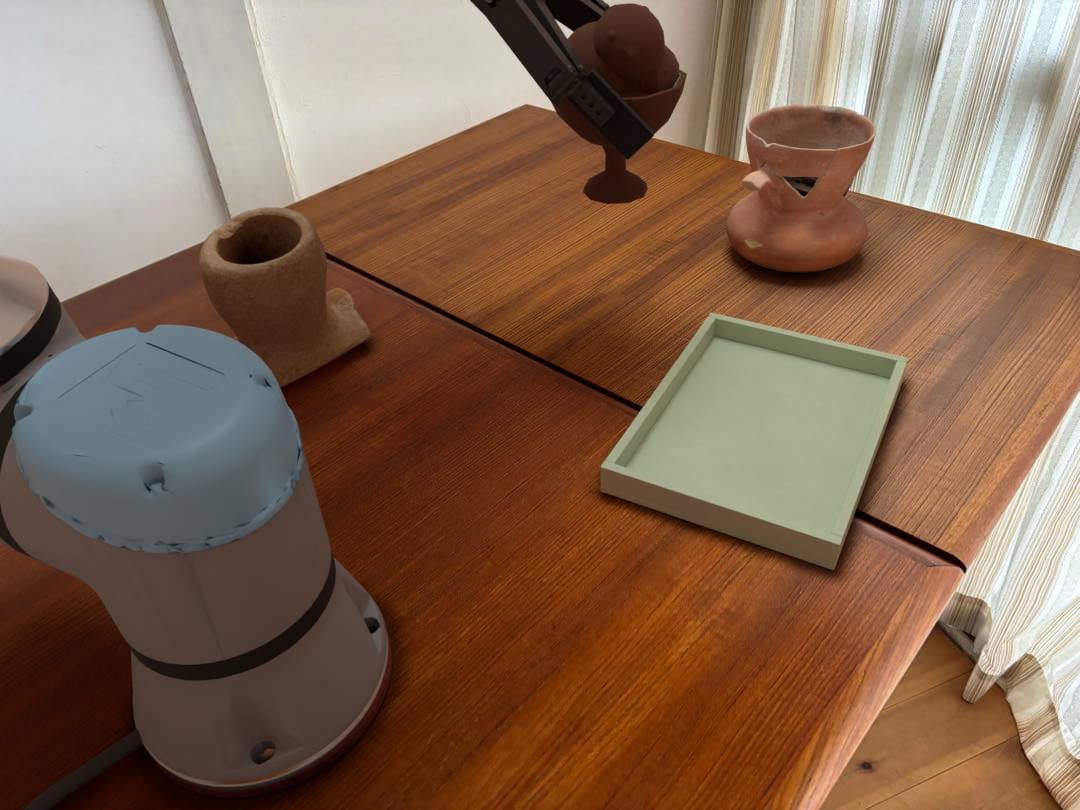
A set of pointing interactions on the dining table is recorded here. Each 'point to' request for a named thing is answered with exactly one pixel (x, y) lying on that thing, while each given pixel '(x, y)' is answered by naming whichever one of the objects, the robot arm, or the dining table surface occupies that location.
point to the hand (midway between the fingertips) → (649, 119)
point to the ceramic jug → (801, 188)
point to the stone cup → (279, 292)
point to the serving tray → (760, 436)
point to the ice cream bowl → (625, 88)
